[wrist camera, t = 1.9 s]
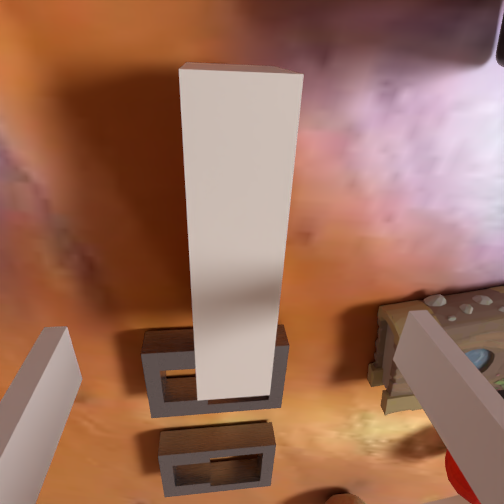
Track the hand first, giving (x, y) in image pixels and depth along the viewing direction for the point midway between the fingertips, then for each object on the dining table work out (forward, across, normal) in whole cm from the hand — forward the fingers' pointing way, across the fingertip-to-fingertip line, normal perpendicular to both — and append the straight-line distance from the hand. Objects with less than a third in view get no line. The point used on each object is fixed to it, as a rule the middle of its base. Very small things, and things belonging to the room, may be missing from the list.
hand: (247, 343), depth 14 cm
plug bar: (+12, 0, 0) cm, 13 cm away
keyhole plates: (+13, +1, -22) cm, 25 cm away
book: (+13, +21, -13) cm, 28 cm away
